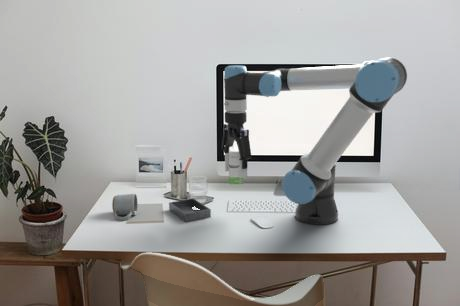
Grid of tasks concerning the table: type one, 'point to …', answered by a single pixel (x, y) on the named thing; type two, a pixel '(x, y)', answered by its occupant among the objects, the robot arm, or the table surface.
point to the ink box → (234, 166)
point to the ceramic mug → (124, 206)
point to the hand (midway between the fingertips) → (236, 173)
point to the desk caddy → (189, 210)
